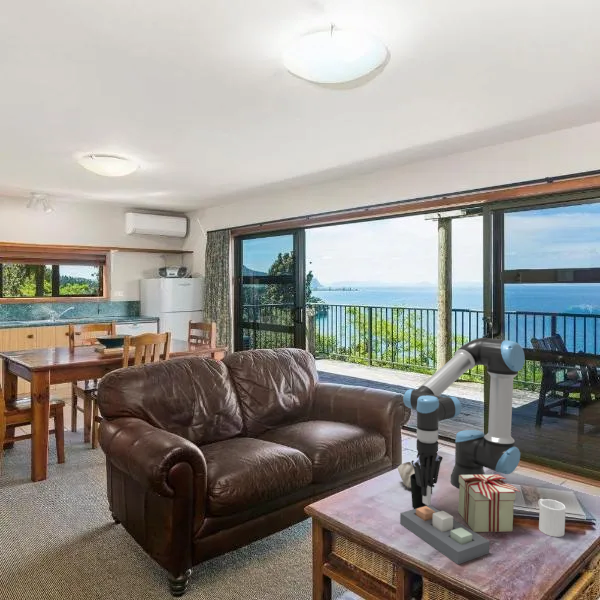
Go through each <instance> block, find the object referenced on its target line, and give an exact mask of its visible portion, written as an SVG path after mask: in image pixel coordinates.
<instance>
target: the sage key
mask: <svg viewBox="0 0 600 600" xmlns="http://www.w3.org/2000/svg"><path fill="white" fill-rule="evenodd" d="M450 538H452V539H453V540H455V541H456V542H458V543H459V544H461V545H463V544H466V543H469V542H472V534H471V533H469V532H468V531H466V530H465V529H463V528H458V529H455V530H452V531H451V536H450Z"/></svg>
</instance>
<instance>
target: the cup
mask: <svg viewBox="0 0 600 600" xmlns="http://www.w3.org/2000/svg"><path fill="white" fill-rule="evenodd" d="M410 480H411V488H410V489H411V490H410V491H411V493H410V495H411V505H412V508H413V509H416V508H420V507H424V506H427V505H426V504H424V503H423V495H422V494H421V489H422V487H421V486H419V485H417V482H416V477H415V474H412V475H411V476H410Z"/></svg>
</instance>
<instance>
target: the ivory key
mask: <svg viewBox="0 0 600 600" xmlns="http://www.w3.org/2000/svg"><path fill="white" fill-rule="evenodd" d="M439 511H440V510H439ZM453 519H454V516H453V515H451V514H450V513H448V512H446V510H445V511H444V510H441V511H440V512H436V513H433V522H432V526H433V527H435V528H436V529H438V530H439V531H441V532H445V531H449V530H452V529H453Z"/></svg>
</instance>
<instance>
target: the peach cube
mask: <svg viewBox="0 0 600 600" xmlns="http://www.w3.org/2000/svg"><path fill="white" fill-rule="evenodd" d="M433 513H435V511H433V510H432V509H430V508H429V507H427V506H424V507H421V508H417V509H416V516H418V517H420V518H421V519H423V520H424V521H427V520H430V519H433Z"/></svg>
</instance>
